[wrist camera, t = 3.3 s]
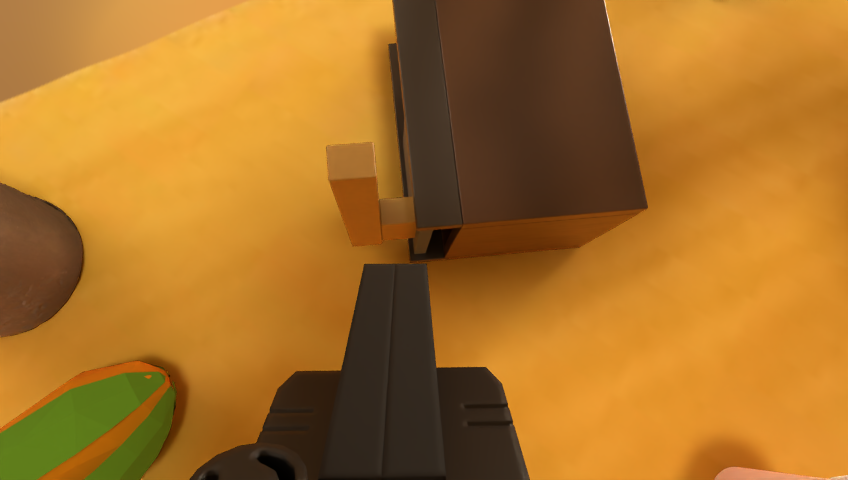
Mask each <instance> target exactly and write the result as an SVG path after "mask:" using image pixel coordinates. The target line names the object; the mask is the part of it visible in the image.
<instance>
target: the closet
mask: <svg viewBox="0 0 848 480" xmlns="http://www.w3.org/2000/svg"><path fill="white" fill-rule="evenodd" d="M392 3H393V13H394V23H395V32H396V42H397V43H394V44H389V59H390V69H391V79H392V89H393V99H394V109H395V119H396V129H397V139H398V149H399V159H400V169H401V179H402V189H403V197H408V188H407V178H406V169H405V159H404V149H403V134H404V118H405V128H406V138H407V147H408V157H409V166H410V176H411V186H412V195H413V205H414V214H415V224H416V230H417V231H426V230H433V232H432V235H431V238H430V241H429V244H428V247H427V250H426V253H423V254H414V247H413V238H407V239H408V249H409V259H410V263H417V262H427V261H438V260H449V259H459V258H470V257H481V256H492V255H503V254H514V253H524V252H535V251H546V250H557V249H568V248H579V247H581V246H583V245H585V244H586V243H588V242H590V241H592V240H593V239H595V238H597V237H599V236H600V235H602V234H604V233H606V232H607V231H609V230H611V229H613V228H614V227H616V226H618V225H620V224H621V223H623V222H625V221H627V220H628V219H630V218H632V217H634V216H635V215H637V214H639V213H640V212H642V211H644V210H646V209H647V208H648V205H647V201H646V196H645V191H644V186H643V181H642V177H641V172H640V167H639V162H638V158H637V153H636V148H635V143H634V139H633V134H632V129H631V124H630V120H629V115H628V110H627V105H626V100H625V96H624V91H623V86H622V81H621V77H620V72H619V67H618V62H617V58H616V53H615V48H614V43H613V38H612V34H611V29H610V24H609V19H608V15H607V10H606V5H605V0H392Z"/></svg>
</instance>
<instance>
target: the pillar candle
mask: <svg viewBox="0 0 848 480" xmlns="http://www.w3.org/2000/svg"><path fill="white" fill-rule="evenodd" d="M82 254H83V251H82V242H81V237H80V234H79V232H78V231H77V228H76V226H75V225H74V223H73V222H72V220H71V219H70V218H69V217H68V216H66V214H65V213H64V212H63V211H62V210H61V209H59V208H58V207H56V206H54V205H53V204H51V203H49V202H47V201H44V200H42V199H39V198H37V197H32V196H30V195H26V194H24V193H22V192H20V191H18V190H16V189H14V188H12V187H9V186H7V185H6V184H2V183H0V337H6V336H12V335H16V334H19V333H23V332H25V331H28V330H31V329H33V328H35V327H37V326H38V325H40V324H41V323H43V322H45V321H47V320H48V319H49V318H51V317H52V316H53V315H54V314H55V313H56V312H58V310H59V309H60V308H61V307H62V306H63V305H64V304H65V302H66V301H67V300H68V298H69V296H70V295H71V294H72V292H73V290H74V288H75V286H76V284H77V282H78V277H79V275H80V272H81V264H82Z"/></svg>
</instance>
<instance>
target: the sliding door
mask: <svg viewBox="0 0 848 480" xmlns="http://www.w3.org/2000/svg"><path fill="white" fill-rule="evenodd" d="M403 149H404V159H405V169H406V178H407V188H408V197H400V198H388V199H379V196H378V184H377V172H376V161H375V150H374V143H373V142H367V143H353V144H339V145H328V146H327V147H326V151H327V166H328V180H329V183H330V185H331V188H332V191H333V194H334V196H335V199H336V202H337V205H338V207H339V210H340V213H341V216H342V218H343V221H344V224H345V227H346V229H347V232H348V235H349V238H350V240H351V243H352V246H365V245H376V244H382V240H395V239H406V238H413V247H414V254H423V253H426V250H427V247H428V244H429V241H430V238H431V235H432V232H433V230H426V231H417V230H416V224H415V214H414V205H413V195H412V186H411V176H410V166H409V157H408V147H407V138H406V128H405V118H404V134H403Z"/></svg>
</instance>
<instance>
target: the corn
mask: <svg viewBox="0 0 848 480" xmlns="http://www.w3.org/2000/svg"><path fill="white" fill-rule="evenodd" d="M169 377H170V375H169V374H168V373H167V370H165V369H164V368H163V367H158V366H154V365H150V364H147V363H144V362H141V361H138V360H137V361H132V362H128V363H123V364H118V365H113V366H109V367H104V368H99V369H95V370H90V371H85V372H82V373H80V374H79V375H77V376H76V377H74V378H72V379H71V380H69V381H68V382H66V383H65V384H63V385H62V386H60V387H59V388H58V389H56V390H55V391H53V392H52V393H50V394H49V395H48V396H46V397H45V398H43V399H42V400H41V401H39V402H38V403H36V404H35V405H33V406H32V407H31V408H29V409H28V410H26V411H25V412H24V413H22V414H21V415H19V416H18V417H16V418H15V419H14V420H12V421H11V422H9V423H8V424H6V425H5V426H4V427H2V428H1V429H0V480H140V479H141V477H142V476H143V475H144V473H145V472H146V471H147V469H148V468H149V467H150V466H151V464H152V463H153V462H154V460H155V459H156V458H157V456H158V455H159V452H160V450H161V448H162V446H163V444H164V441H165V439H166V438H167V436H168V433H169V430H170V428H171V425H172V418H173V414H174V410H175V404H176V395H177V390H176V387H175V383H174V382H173V381H172V383H173V387H174V390H173V388H172V386H171V384H170V380H169Z"/></svg>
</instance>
